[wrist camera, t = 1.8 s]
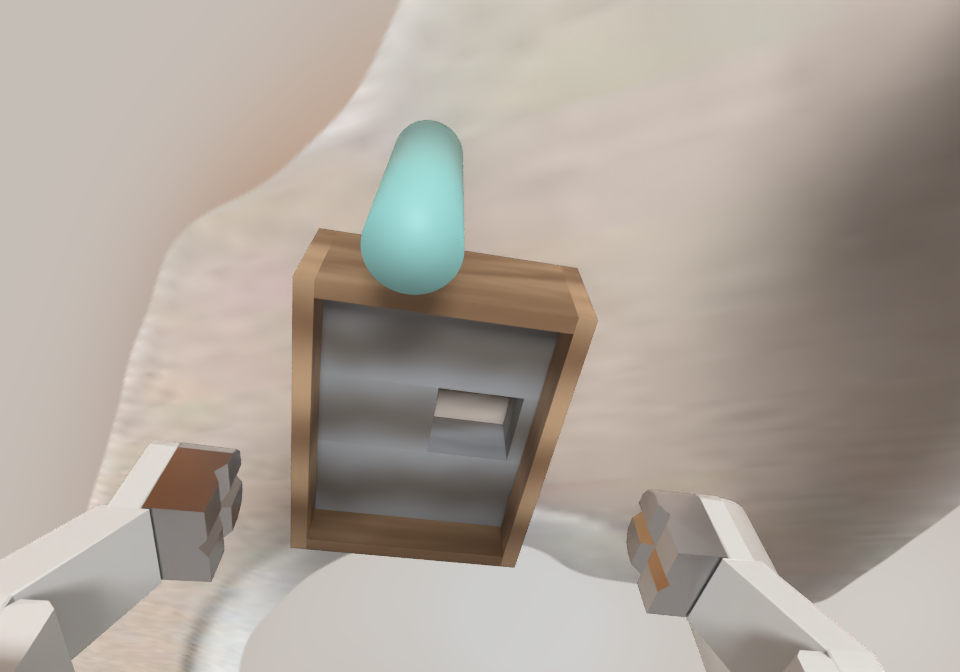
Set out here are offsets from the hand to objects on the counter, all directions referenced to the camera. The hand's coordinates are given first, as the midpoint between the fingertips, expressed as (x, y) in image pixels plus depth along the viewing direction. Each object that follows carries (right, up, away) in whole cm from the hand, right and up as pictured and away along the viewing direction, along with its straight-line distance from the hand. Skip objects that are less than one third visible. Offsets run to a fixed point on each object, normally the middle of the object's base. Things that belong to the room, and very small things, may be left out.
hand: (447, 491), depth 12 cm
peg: (-2, +13, +18) cm, 22 cm away
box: (-3, 0, +27) cm, 27 cm away
